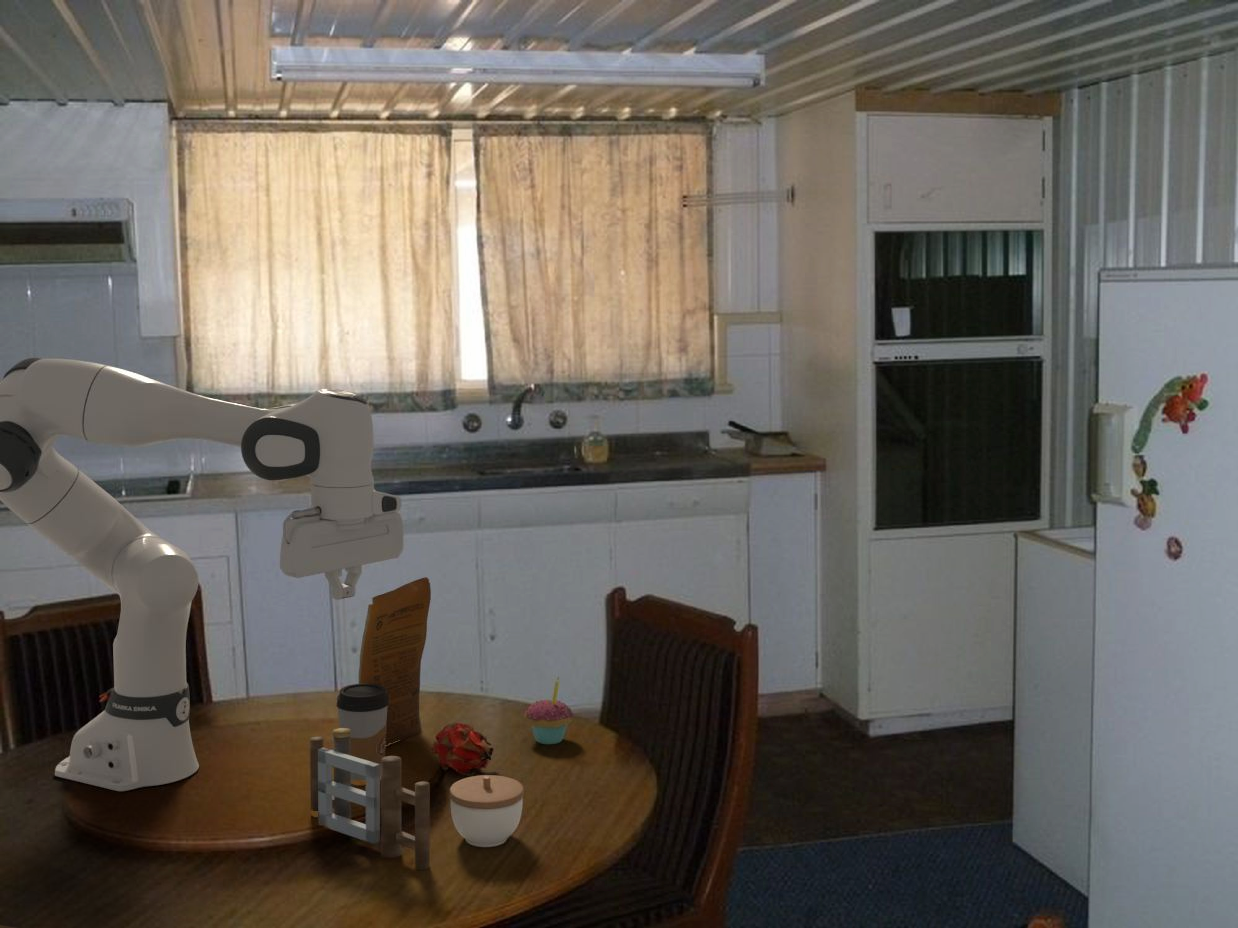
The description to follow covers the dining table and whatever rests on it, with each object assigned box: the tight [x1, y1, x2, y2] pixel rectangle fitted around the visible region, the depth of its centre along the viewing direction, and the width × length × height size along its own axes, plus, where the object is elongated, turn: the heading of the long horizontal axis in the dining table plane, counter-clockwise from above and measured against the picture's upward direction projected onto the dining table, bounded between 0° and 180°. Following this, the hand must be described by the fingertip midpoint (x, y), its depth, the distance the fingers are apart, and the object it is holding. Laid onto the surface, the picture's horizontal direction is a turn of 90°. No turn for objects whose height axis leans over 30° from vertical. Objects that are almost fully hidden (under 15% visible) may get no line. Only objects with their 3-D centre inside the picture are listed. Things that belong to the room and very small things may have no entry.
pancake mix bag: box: [358, 576, 432, 745], centre depth 238 cm, size 7×19×28 cm, turn 148°
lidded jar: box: [449, 774, 525, 848], centre depth 198 cm, size 11×11×9 cm
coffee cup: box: [336, 683, 389, 781], centre depth 220 cm, size 8×8×15 cm
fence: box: [309, 727, 431, 871], centre depth 196 cm, size 27×5×15 cm, turn 52°
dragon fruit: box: [430, 721, 497, 777], centre depth 225 cm, size 8×8×12 cm
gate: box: [317, 747, 381, 844], centre depth 197 cm, size 11×1×12 cm, turn 56°
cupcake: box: [523, 676, 574, 745], centre depth 240 cm, size 9×8×12 cm
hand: (343, 597), depth 196 cm, fingers closed
